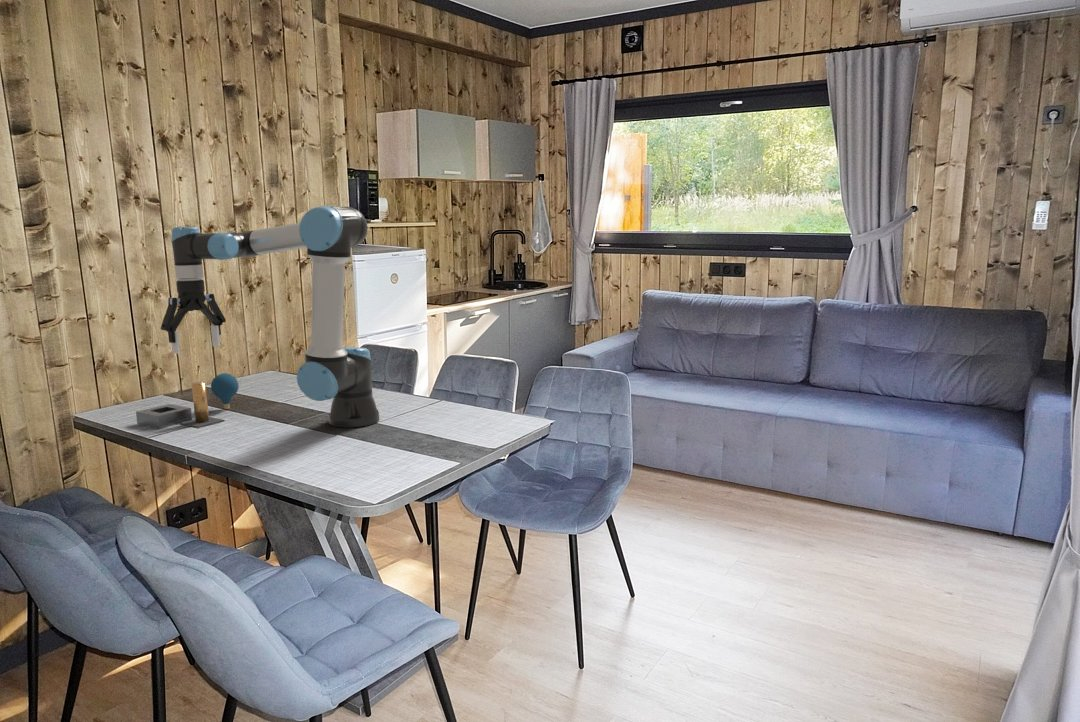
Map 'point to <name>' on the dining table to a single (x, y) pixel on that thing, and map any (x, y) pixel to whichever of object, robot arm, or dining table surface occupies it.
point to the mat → (199, 425)
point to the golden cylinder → (200, 402)
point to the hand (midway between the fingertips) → (197, 349)
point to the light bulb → (224, 388)
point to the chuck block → (163, 416)
